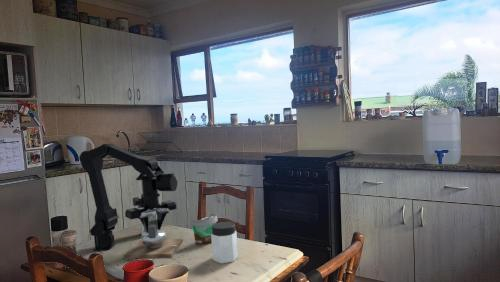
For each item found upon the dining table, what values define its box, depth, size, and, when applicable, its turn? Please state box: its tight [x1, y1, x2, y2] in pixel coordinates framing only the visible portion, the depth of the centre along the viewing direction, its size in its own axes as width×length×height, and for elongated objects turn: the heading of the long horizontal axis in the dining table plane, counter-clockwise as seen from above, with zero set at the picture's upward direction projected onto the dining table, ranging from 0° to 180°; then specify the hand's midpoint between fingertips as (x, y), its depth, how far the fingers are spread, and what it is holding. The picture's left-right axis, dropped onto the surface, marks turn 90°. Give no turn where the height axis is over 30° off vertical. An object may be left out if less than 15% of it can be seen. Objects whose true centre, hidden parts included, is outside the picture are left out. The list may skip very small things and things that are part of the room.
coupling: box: [141, 218, 167, 245], centre depth 141 cm, size 11×9×7 cm
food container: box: [191, 212, 219, 246], centre depth 146 cm, size 12×6×10 cm, turn 143°
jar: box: [211, 221, 239, 264], centre depth 127 cm, size 9×8×12 cm
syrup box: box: [139, 208, 157, 234], centre depth 161 cm, size 6×6×14 cm
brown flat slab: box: [122, 238, 184, 259], centre depth 141 cm, size 18×16×3 cm
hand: (153, 231), depth 140 cm, fingers closed on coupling, 4 cm apart
